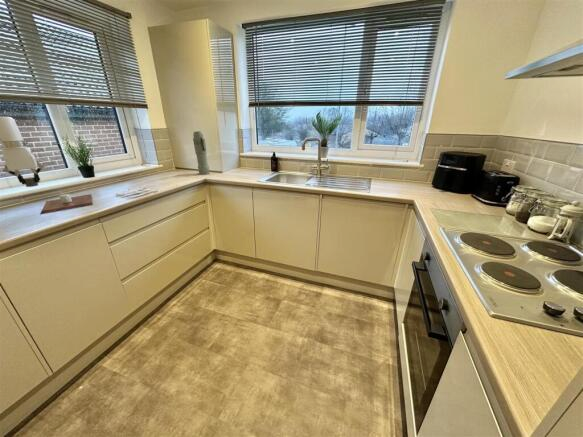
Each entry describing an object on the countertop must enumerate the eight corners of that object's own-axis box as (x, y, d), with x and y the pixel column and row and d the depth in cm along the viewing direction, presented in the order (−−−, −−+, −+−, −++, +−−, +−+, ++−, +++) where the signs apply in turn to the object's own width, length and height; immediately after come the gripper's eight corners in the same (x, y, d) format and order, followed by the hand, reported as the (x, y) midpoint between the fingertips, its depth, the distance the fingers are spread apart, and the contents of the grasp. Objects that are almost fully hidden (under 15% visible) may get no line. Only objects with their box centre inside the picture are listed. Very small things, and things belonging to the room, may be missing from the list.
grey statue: (206, 175, 204) (199, 131, 190) (195, 174, 208) (188, 131, 194) (213, 173, 211) (207, 131, 198) (202, 172, 215) (195, 131, 202)
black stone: (25, 187, 117) (21, 179, 116) (26, 185, 120) (23, 177, 119) (37, 185, 120) (34, 177, 118) (39, 184, 123) (35, 176, 121)
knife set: (107, 194, 153) (107, 193, 153) (158, 182, 181) (158, 181, 181) (129, 200, 141) (129, 198, 141) (180, 186, 169) (180, 184, 169)
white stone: (61, 203, 133) (58, 196, 132) (62, 201, 136) (59, 194, 135) (72, 201, 136) (69, 195, 134) (72, 200, 139) (70, 193, 137)
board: (39, 214, 122) (37, 211, 122) (44, 204, 138) (43, 201, 138) (92, 204, 135) (91, 202, 134) (91, 196, 151) (91, 193, 150)
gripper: (39, 143, 120) (54, 179, 127) (-11, 146, 110) (8, 184, 117) (37, 144, 114) (53, 181, 121) (-16, 147, 105) (4, 187, 112)
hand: (31, 182), depth 119 cm, fingers closed on black stone, 4 cm apart
